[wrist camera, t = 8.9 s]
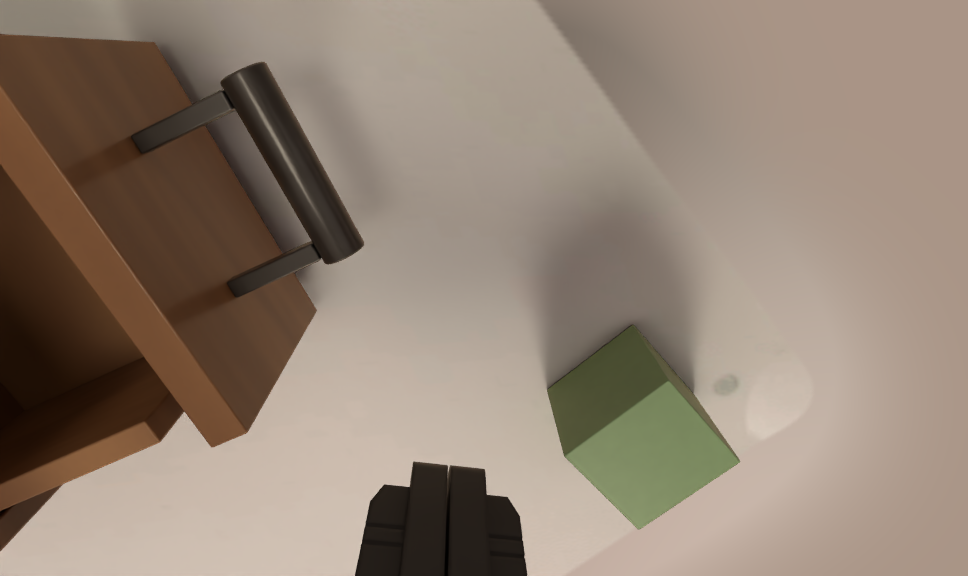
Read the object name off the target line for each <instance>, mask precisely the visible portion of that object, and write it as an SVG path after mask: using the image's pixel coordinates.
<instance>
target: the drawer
mask: <svg viewBox="0 0 968 576" xmlns="http://www.w3.org/2000/svg"><path fill="white" fill-rule="evenodd" d="M221 85H222V87H223V89H224V90H220V91H218V92H216V93H214V94H212V95H210V96H208V97H206V98H204V99H202V100H200V101H198V102H196V103H194V104H192V103H191V102H190V100H189V98H188V97H187V95H186V93H185V92H184V90H183V88H182V87H181V85H180V83H179V82H178V80H177V78H176V77H175V75H174V73H173V72H172V70H171V68H170V67H169V65H168V64H167V62H166V60H165V59H164V57H163V55H162V54H161V52H160V50H159V49H158V47H157V45H156V44H155V43H154V42H140V41H121V40H101V39H82V38H63V37H44V36H25V35H6V34H0V511H1V510H4V509H6V508H8V507H10V506H13V505H15V504H17V503H20V502H22V501H24V500H27V499H29V498H31V497H34V496H36V495H38V494H41V493H43V492H45V491H48V490H50V489H52V488H55V487H57V486H59V485H62V484H64V483H66V482H69V481H71V480H73V479H76V478H78V477H80V476H83V475H85V474H87V473H90V472H92V471H94V470H97V469H99V468H101V467H104V466H106V465H108V464H111V463H113V462H115V461H118V460H120V459H122V458H125V457H127V456H129V455H132V454H134V453H136V452H139V451H141V450H143V449H145V448H148V447H150V446H152V445H155V444H157V443H159V442H161V441H162V439H163V438H164V437H165V435H166V434H167V433H168V432H169V430H170V429H171V428H172V427H173V425H174V424H175V423H176V421H177V420H178V419H179V418H180V416H181V415H182V414H183V412H184V411H185V413H186V414H187V415H188V417H189V418H190V419H191V421H192V422H193V423H194V425H195V426H196V427H197V429H198V430H199V431H200V433H201V434H202V435H203V437H204V438H205V439H206V441H207V442H208V443H209V445H210V446H211V447H215V446H217V445H220V444H222V443H224V442H227V441H229V440H232V439H234V438H236V437H239V436H241V435H243V434H246V433H247V432H248V431H249V429H250V427H251V425H252V424H253V422H254V420H255V418H256V417H257V415H258V413H259V411H260V410H261V408H262V406H263V404H264V403H265V401H266V399H267V397H268V396H269V394H270V392H271V390H272V389H273V387H274V385H275V383H276V382H277V380H278V378H279V376H280V374H281V373H282V371H283V369H284V367H285V366H286V364H287V362H288V360H289V359H290V357H291V355H292V353H293V352H294V350H295V348H296V346H297V345H298V343H299V341H300V339H301V338H302V336H303V334H304V332H305V331H306V329H307V327H308V325H309V324H310V322H311V320H312V318H313V316H314V315H315V313H316V311H317V310H316V308H315V307H314V305H313V303H312V302H311V300H310V298H309V297H308V295H307V293H306V292H305V290H304V288H303V287H302V285H301V283H300V282H299V280H298V278H297V277H296V275H295V273H294V272H296V271H298V270H300V269H302V268H304V267H307V266H309V265H311V264H313V263H315V262H318V261H320V259H321V258H322V259H323V261H324V263H325V264H333V263H336V262H339V261H341V260H343V259H346V258H347V257H349V256H351V255H353V254H354V253H356V252H357V251H359V250H360V249H361V248H362V247H363V246H364V241H363V239H362V237H361V236H360V234H359V232H358V230H357V228H356V226H355V225H354V223H353V221H352V219H351V217H350V215H349V214H348V212H347V210H346V208H345V206H344V204H343V203H342V201H341V199H340V197H339V195H338V193H337V192H336V190H335V188H334V186H333V184H332V183H331V181H330V179H329V177H328V175H327V173H326V172H325V170H324V168H323V166H322V164H321V162H320V161H319V159H318V157H317V155H316V153H315V151H314V150H313V148H312V146H311V144H310V142H309V140H308V139H307V137H306V135H305V133H304V131H303V130H302V128H301V126H300V124H299V122H298V120H297V119H296V117H295V115H294V113H293V111H292V109H291V108H290V106H289V104H288V102H287V100H286V98H285V97H284V95H283V93H282V91H281V89H280V88H279V86H278V84H277V82H276V80H275V78H274V77H273V75H272V73H271V71H270V69H269V67H268V66H267V64H266V63H265V62H258V63H255V64H252V65H249V66H247V67H245V68H242V69H240V70H238V71H236V72H234V73H232V74H230V75H228V76H227V77H225V78H224V79H223V80H222V81H221ZM235 110H236V111H237V113H238V115H239V116H240V118H241V120H242V122H243V123H244V125H245V127H246V128H247V130H248V132H249V134H250V135H251V137H252V139H253V141H254V142H255V144H256V146H257V147H258V149H259V151H260V153H261V154H262V156H263V158H264V159H265V161H266V163H267V165H268V166H269V168H270V170H271V172H272V173H273V175H274V177H275V178H276V180H277V182H278V184H279V185H280V187H281V189H282V190H283V192H284V194H285V196H286V197H287V199H288V201H289V202H290V204H291V206H292V208H293V209H294V211H295V213H296V215H297V216H298V218H299V220H300V221H301V223H302V225H303V227H304V228H305V230H306V232H307V233H308V235H309V237H310V239H311V240H312V241H310V242H307V243H305V244H303V245H301V246H299V247H297V248H294V249H292V250H290V251H288V252H286V253H283V254H282V252H281V250H280V249H279V247H278V245H277V244H276V242H275V240H274V239H273V237H272V235H271V234H270V232H269V230H268V229H267V227H266V226H265V224H264V222H263V221H262V219H261V217H260V216H259V214H258V212H257V211H256V209H255V207H254V206H253V204H252V202H251V201H250V199H249V197H248V196H247V194H246V192H245V191H244V189H243V188H242V186H241V184H240V183H239V181H238V179H237V178H236V176H235V174H234V173H233V171H232V169H231V168H230V166H229V164H228V163H227V161H226V159H225V158H224V156H223V154H222V153H221V151H220V149H219V148H218V146H217V145H216V143H215V141H214V140H213V138H212V136H211V135H210V133H209V131H208V130H207V128H206V126H205V125H207V124H209V123H211V122H213V121H215V120H217V119H219V118H221V117H223V116H225V115H227V114H229V113H231V112H233V111H235Z"/></svg>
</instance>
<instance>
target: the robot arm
mask: <svg viewBox="0 0 968 576" xmlns="http://www.w3.org/2000/svg"><path fill="white" fill-rule="evenodd" d="M447 476H448V478H447ZM524 555H525V554H524V546H523V541H522V530H521V522H520V516H519V514H518V513H517V511H516V510H515V508H514V507H513V505H512V503H511V502H510V500H509V499H508V497H502V496H492V495H487V494H486V477H485V470H484V469H479V468H470V467H461V466H451V465H450V468H449V472H448V466H447V465H440V464H431V463H422V462H413V467H412V474H411V481H410V487H403V486H393V485H384V486H383V487H382V488H381V489H380V490H379V492H378V493H377V494H376V495H375V496H374V498H373V499H372V500H371V501H370V505H369V510H368V515H367V520H366V525H365V529H364V534H363V539H362V544H361V549H360V554H359V559H358V563H357V568H356V573H355V576H527V570H526V562H525V559H524Z"/></svg>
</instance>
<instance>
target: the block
mask: <svg viewBox="0 0 968 576" xmlns="http://www.w3.org/2000/svg"><path fill="white" fill-rule="evenodd" d="M547 392H548V396H549V400H550V404H551V407H552V411H553V415H554V419H555V423H556V427H557V430H558V434H559V438H560V442H561V446H562V450H563V453H564V456H565V457H566V458H567V459H568V460H569V461H570V462H571V463H572V464H573V465H574V466H575V467H576V468H577V469H578V470H579V471H580V472H581V473H582V474H583V475H584V476H585V477H586V478H587V479H588V480H589V481H590V482H591V483H592V484H593V485H594V486H595V487H596V488H597V489H598V490H599V491H600V492H601V493H602V494H603V495H604V496H605V497H606V498H607V499H608V500H609V501H610V502H611V503H612V504H613V505H614V506H615V507H616V508H617V509H618V510H619V511H620V512H621V513H622V514H623V515H624V516H625V517H626V518H627V519H628V520H629V521H630V522H631V523H632V524H633V525H634V526H635V527H636V528H637V529H641V528H643V527H644V526H646V525H647V524H649V523H650V522H651V521H653V520H654V519H656V518H657V517H659V516H660V515H662V514H663V513H665V512H666V511H668V510H669V509H671V508H672V507H674V506H675V505H677V504H678V503H680V502H681V501H683V500H684V499H686V498H687V497H689V496H690V495H692V494H693V493H695V492H696V491H698V490H699V489H701V488H702V487H704V486H705V485H707V484H708V483H710V482H711V481H713V480H714V479H716V478H717V477H719V476H720V475H722V474H723V473H724V472H726V471H728V470H729V469H731V468H732V467H734V466H735V465H737V464H738V463H739V462H740V460H739V459H738V457H737V456H736V454H735V453H734V451H733V450H732V448H731V447H730V446H729V444H728V443H727V441H726V440H725V438H724V437H723V436H722V434H721V433H720V431H719V430H718V428H717V427H716V425H715V424H714V423H713V421H712V420H711V418H710V417H709V415H708V414H707V412H706V411H705V410H704V408H703V407H702V405H701V404H700V402H699V401H698V400H697V398H696V397H695V395H694V394H693V393H692V392H691V391H690V389H689V388H688V387H687V386H686V385H685V384H684V383H683V381H682V380H681V379H680V378H679V377H678V376H677V374H676V373H675V372H674V371H673V370H672V369H671V368H670V366H669V365H668V364H667V363H666V362H665V361H664V359H663V358H662V357H661V356H660V355H659V354H658V353H657V351H656V350H655V349H654V348H653V347H652V346H651V344H650V343H649V342H648V341H647V340H646V339H645V337H644V336H643V335H642V334H641V333H640V332H639V331H638V329H637V328H636V327H635V326H634V325H632V326H630V327H629V328H628V329H626V330H625V331H624V332H622V333H621V334H620V335H619V336H617V337H616V338H615V339H613V340H612V341H611V342H609V343H608V344H607V345H605V346H604V347H603V348H601V349H600V350H599V351H597V352H596V353H595V354H594V355H592V356H591V357H590V358H588V359H587V360H586V361H584V362H583V363H582V364H580V365H579V366H578V367H576V368H575V369H574V370H573V371H571V372H570V373H569V374H567V375H566V376H565V377H563V378H562V379H561V380H559V381H558V382H557V383H555V384H554V385H553V386H551V387H550V388H549V389H548V390H547Z"/></svg>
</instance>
